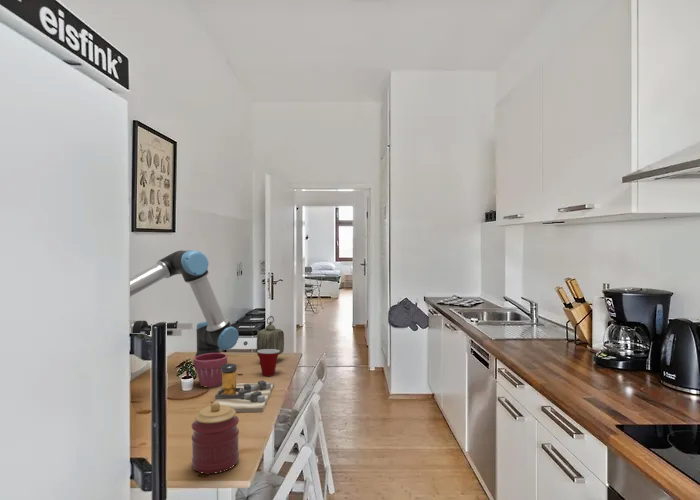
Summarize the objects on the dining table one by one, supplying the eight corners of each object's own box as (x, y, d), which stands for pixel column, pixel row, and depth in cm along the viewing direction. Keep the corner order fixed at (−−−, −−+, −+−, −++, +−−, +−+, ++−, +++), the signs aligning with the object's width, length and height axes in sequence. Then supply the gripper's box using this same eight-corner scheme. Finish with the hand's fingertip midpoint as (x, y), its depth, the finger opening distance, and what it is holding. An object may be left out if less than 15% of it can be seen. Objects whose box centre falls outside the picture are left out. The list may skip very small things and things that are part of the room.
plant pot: (191, 390, 185) (191, 361, 185) (196, 381, 199) (196, 353, 199) (226, 388, 188) (225, 359, 188) (228, 378, 202) (228, 351, 202)
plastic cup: (284, 372, 211) (284, 348, 211) (271, 379, 201) (271, 353, 201) (266, 370, 215) (266, 346, 215) (252, 376, 206) (252, 351, 205)
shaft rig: (227, 387, 190) (227, 376, 190) (273, 386, 190) (273, 376, 190) (207, 413, 160) (207, 401, 160) (262, 411, 160) (262, 400, 160)
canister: (213, 480, 113) (212, 414, 113) (181, 467, 120) (181, 405, 120) (248, 459, 124) (248, 399, 124) (218, 448, 131) (217, 391, 131)
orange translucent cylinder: (224, 392, 177) (223, 364, 177) (238, 392, 178) (237, 363, 178) (220, 397, 172) (219, 368, 172) (235, 397, 172) (234, 367, 172)
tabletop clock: (270, 358, 238) (270, 314, 238) (285, 359, 235) (284, 314, 235) (256, 365, 225) (256, 318, 225) (271, 366, 222) (271, 318, 222)
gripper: (148, 332, 191) (196, 332, 191) (120, 345, 166) (176, 344, 166) (148, 316, 191) (196, 315, 191) (120, 326, 166) (175, 325, 166)
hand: (187, 329), depth 179 cm, fingers open, 13 cm apart
